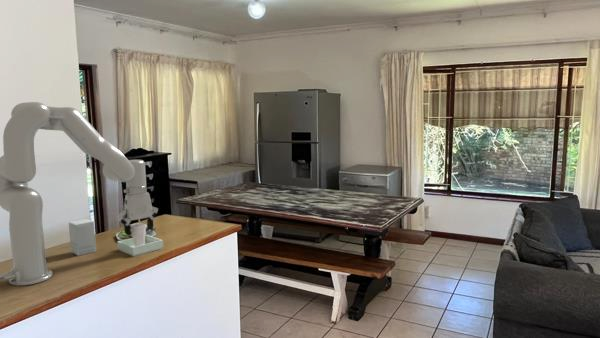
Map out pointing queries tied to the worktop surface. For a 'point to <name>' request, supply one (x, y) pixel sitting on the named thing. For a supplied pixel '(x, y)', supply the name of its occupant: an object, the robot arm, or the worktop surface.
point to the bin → (149, 246)
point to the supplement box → (82, 237)
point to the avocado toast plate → (124, 235)
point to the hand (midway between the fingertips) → (139, 231)
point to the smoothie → (138, 233)
